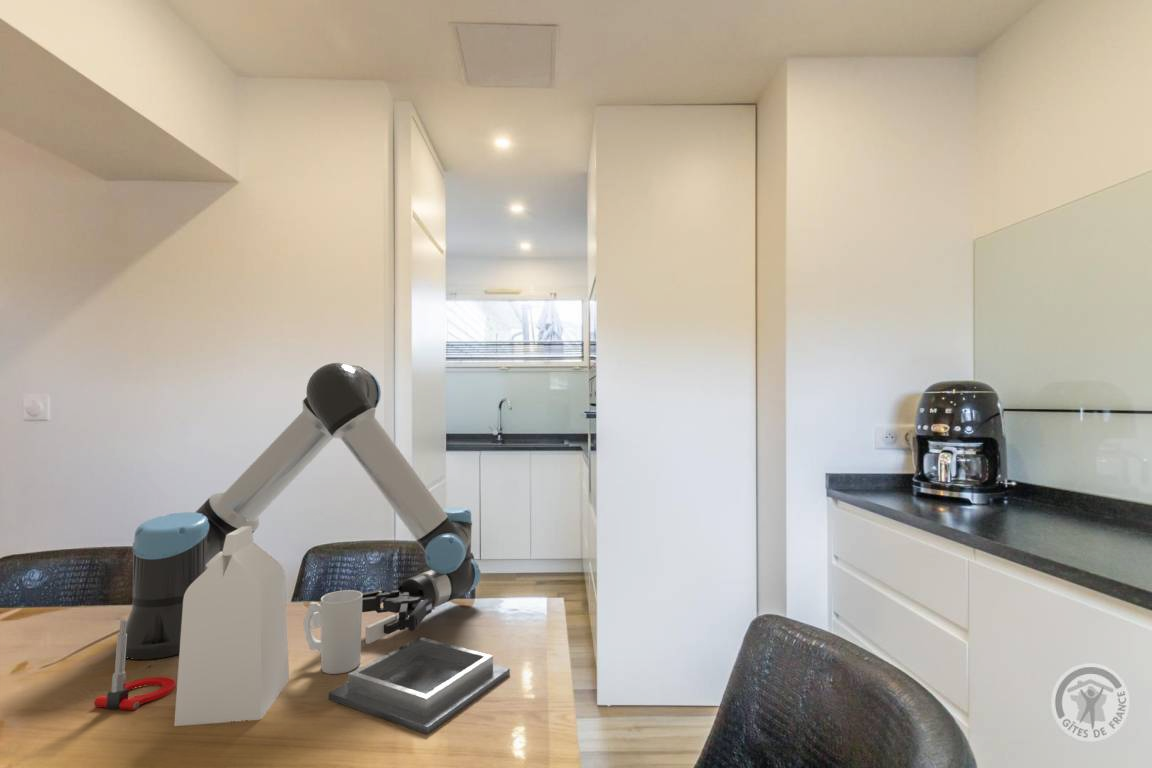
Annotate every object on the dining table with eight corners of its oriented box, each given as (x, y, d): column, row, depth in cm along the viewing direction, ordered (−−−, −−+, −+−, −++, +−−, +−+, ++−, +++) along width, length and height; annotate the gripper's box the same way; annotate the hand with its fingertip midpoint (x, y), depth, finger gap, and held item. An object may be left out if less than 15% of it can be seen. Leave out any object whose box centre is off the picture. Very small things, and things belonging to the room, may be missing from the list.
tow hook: (142, 682, 96) (87, 708, 87) (148, 601, 97) (94, 619, 88) (187, 686, 95) (136, 713, 85) (192, 605, 96) (143, 623, 86)
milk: (261, 719, 84) (264, 538, 85) (174, 726, 82) (178, 541, 83) (289, 679, 96) (291, 521, 97) (213, 685, 94) (216, 523, 95)
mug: (368, 658, 104) (369, 590, 104) (351, 675, 97) (352, 603, 98) (313, 656, 104) (314, 589, 105) (293, 674, 98) (294, 602, 98)
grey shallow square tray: (328, 699, 90) (328, 676, 90) (419, 650, 107) (420, 631, 107) (427, 734, 80) (427, 708, 80) (509, 674, 98) (509, 653, 98)
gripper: (471, 621, 114) (391, 664, 96) (379, 601, 126) (291, 636, 107) (472, 583, 115) (392, 618, 96) (379, 566, 126) (292, 595, 107)
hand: (338, 628), depth 101 cm, fingers open, 13 cm apart
